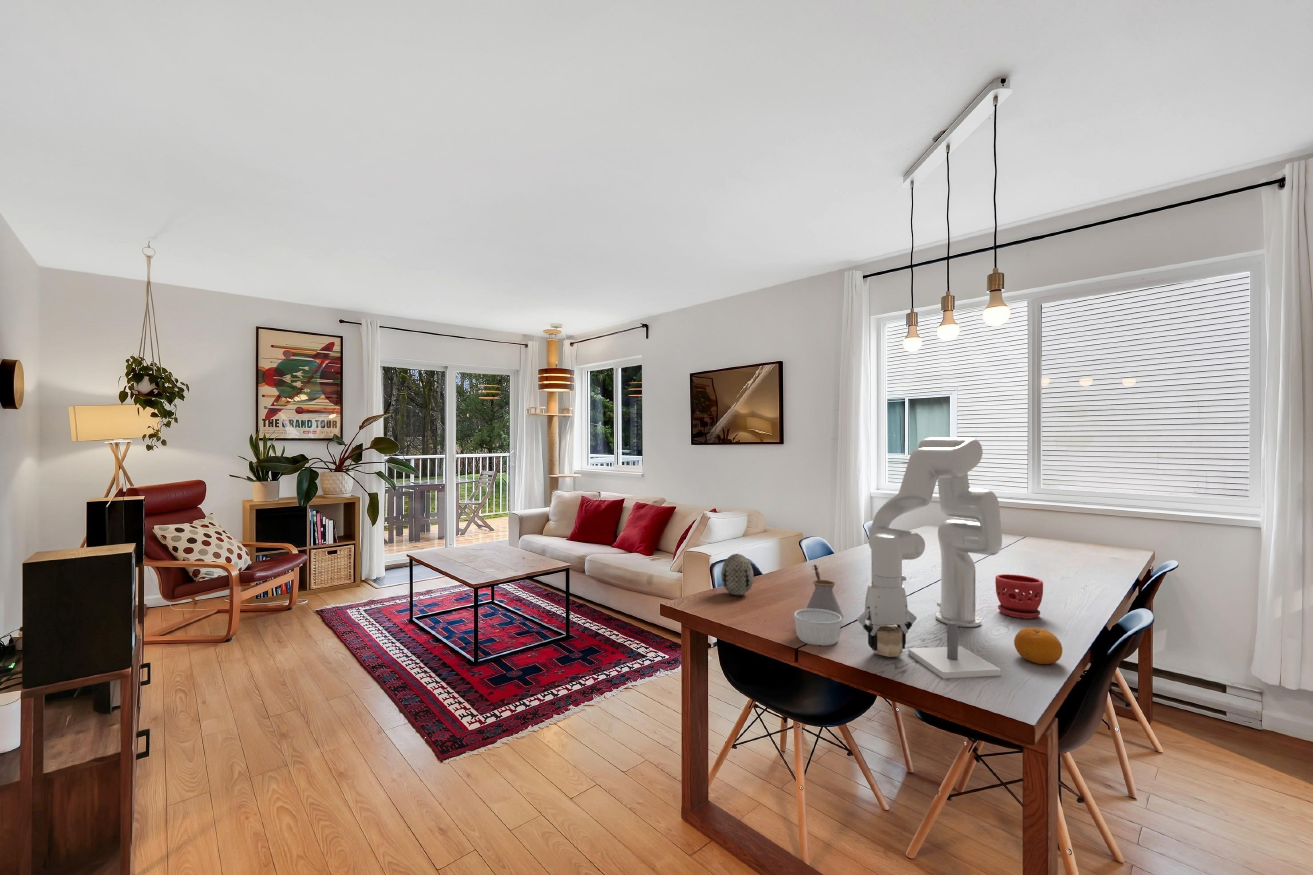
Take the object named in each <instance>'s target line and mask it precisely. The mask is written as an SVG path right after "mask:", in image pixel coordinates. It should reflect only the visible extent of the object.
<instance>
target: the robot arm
mask: <svg viewBox="0 0 1313 875" xmlns="http://www.w3.org/2000/svg"><path fill="white" fill-rule="evenodd" d="M917 446H918V447H917V449H915V450H913V451H912V452H911V453H910V456H909V458H908V461H907V465H906V468H905V471H904V474H903V478H902V481H901V485H900V488H899V491H898V492H897V494H895V495H894V496H893V497H891V498H890V499H888V500H887V501H886V502H885V503H883V505H882V506H881V507H880V508H879V509H877V510H878V511H877V512H876V513H875V515H874V518H873V519H872V520H873V521H872V523H871V526H870V530H869V534H868V545H869V549H870V552H871V554H870V556H871V557H870V560H871V561H870V562H871V563H870V564H871V566H870V567H871V568H870V569H871V570H870V571H871V578H870V579H871V584H868V585H867V590H866V594H865V601H864V602H865V603H864V611H863V612H862V613H861V614H860V615H859V616H858V617H857V618H856V620H857V622H858V623H859V625H860V626H861V627H862V629H864V630H865V631H866V632H867V644H868V646H869V648H871V650H872V649H873V650H874V651H876V650H877V635H875V633H876V631H877V629H878V627H879V626H883V625H894V626H897V627H899V628H900V629H902V650H905V649H906V644H907V634H908V633H909V630H910V629H911V628H912V626H913V624H914V623H915V621H916V620H917V616H916V615H915V614H914V613H913V612H911V611H910V610H908V600H907V599H908V598H907V593H906V589H905V586H904V585H903V583H904V582H906V581H907V577H906V575H903V561H905V560H909V561H911V560H916V559H919V558H920V557H921V556H922V555H923V553H925V549H926V543H925V542H926V541H925V539H924V538H923V536H922V535H921V534H919V533H918V532H915V531H910V530H903V529H899V528H898V529H897V528H890V526H891V524H892V522H894V520H896V519H897V518H898V517H900V516H902V515H904V514H907V513H909V512H912V511H916V510H919V509H921V508H925V507H928V505H929V504H931V502H932V498H933V495H934V491H935V488H936V484H937V486H938V487H937V489H938V496H939V497H938V498H939V505H940V509H941V512H942V514H943V515H945V516H946V517H950V518H956V519H947V520H945V521H943V522H941V523H940V524H939V526H938V528H937V539H938V544H939V549H940V560H941V561H940V563H941V564H940V565H941V566H940V567H941V569H940V571H941V572H940V574H941V576H940V580H941V581H940V602H936V606H937V607H939V611H938V612H936V613H935V619H936V620H937V621H938V622H941V623H944V624H947V622H955V623H958V627H962V628H973V627H974V628H975V627H979V626H981V625H982V620H981V618H980V617H979V616H976V572H977V571H976V570H977V569H976V565H975V562H974V559H973V558H972V557H971V555H970V554H971V553H972V554H977V555H983V556H996V555H998V554H999V552H1000V551H1001V550H1002V545H1003V535H1002V534H1003V533H1002V524H1001V523H1002V522H1001V511H1000V503H999V499H998V497H997V495H996V493H995V492H993V491H992V490H990V489H986V488H973V487H971V486H970V483H969V482H970V481H969V474H968V473H969V472H970V471H972V470H973V469H975V468H976V467H977V466H978V465H979V464H980V462H981V461H982V457H983V453H984V452H983V447H982V444H981V442H979V440H977V439H976V438H972V437H938V436H937V437H935V436H934V437H926V438H924V439H922V440H920V441H919V442H918V445H917ZM960 519H961V520H960ZM962 519H964V520H962ZM969 520H972V521H969ZM973 520H974V521H973ZM976 521H977V522H976ZM866 621H868V623H867V622H866ZM873 650H872V651H873ZM874 651H873V652H874Z"/></svg>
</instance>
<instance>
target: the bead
mask: <svg viewBox="0 0 1313 875" xmlns="http://www.w3.org/2000/svg"><path fill="white" fill-rule="evenodd" d="M875 635H877V650H876V651H874V650H873V649H872V648H871V651H873V652H874V654H876V655H879V656H880V655H881V656H884V657H900V656H901V655H902V654H903V649H902V629H900V628H899V627H897V625H883V626H879V627H878V629H877V631H876V633H875Z"/></svg>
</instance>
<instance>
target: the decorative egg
mask: <svg viewBox="0 0 1313 875" xmlns="http://www.w3.org/2000/svg"><path fill="white" fill-rule="evenodd" d="M720 572H721V574H720V575H721V577H720V578H721V583H722V586H723V588H724V590H726V592H728V594H731V595H733V596H743V595H745V594H746V593H748V592H749V591H750V590H751V588H752V586H753V584H754V578H755V577H754V569H753V567H752V564H751V562H750V560H749V559H748V558H747V557H746V556H744V554H740V553H734V554H731V555H729V556H728V557H727V558H726V559H725V561H724V563H723V564H722V569H721V571H720Z"/></svg>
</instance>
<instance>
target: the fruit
mask: <svg viewBox="0 0 1313 875" xmlns="http://www.w3.org/2000/svg"><path fill="white" fill-rule="evenodd" d="M1013 639H1014V640H1013V645H1014V648H1015V650H1016V652H1017V653H1018V654H1019V656H1021V657H1022V658H1023V659H1025V660H1026V661H1029V662H1031V663H1033V664H1037V665H1050V664H1054V663H1057V662H1058V661H1059V660H1060V659H1061V658H1062V656H1063V645H1062V643H1061V641H1060V639H1059V638H1058V637H1057V636H1056V635H1054V634H1053V633H1052V632H1051V631H1048V630H1047V629H1042V628H1039V627H1024V628H1022V629H1020V630H1019V631H1018V632H1017V633H1016V634H1015V636H1014V638H1013Z"/></svg>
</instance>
